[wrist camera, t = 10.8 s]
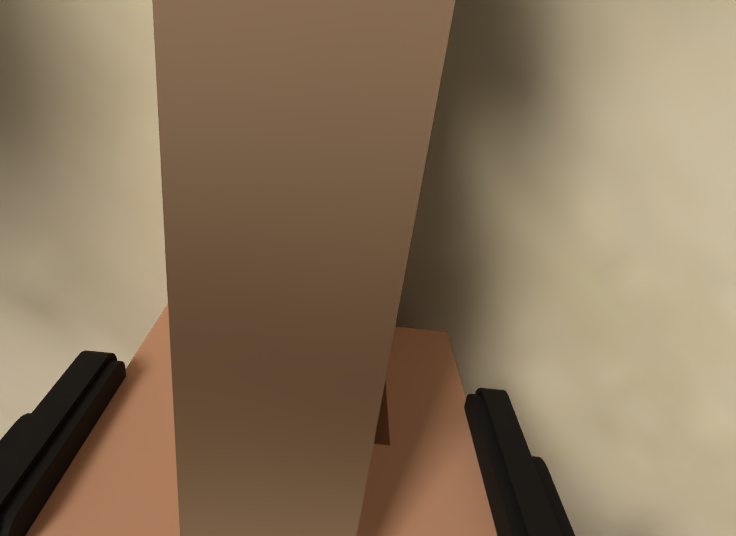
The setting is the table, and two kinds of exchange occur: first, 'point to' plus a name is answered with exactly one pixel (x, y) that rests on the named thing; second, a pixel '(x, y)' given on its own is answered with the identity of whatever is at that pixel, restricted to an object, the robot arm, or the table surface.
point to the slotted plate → (385, 476)
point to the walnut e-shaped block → (287, 244)
